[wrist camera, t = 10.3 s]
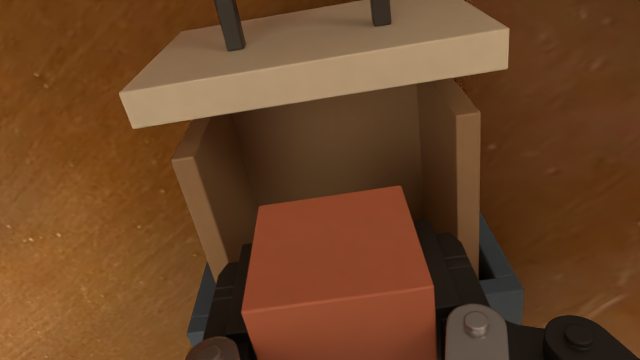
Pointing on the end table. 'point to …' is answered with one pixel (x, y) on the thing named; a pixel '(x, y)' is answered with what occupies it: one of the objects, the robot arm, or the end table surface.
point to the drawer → (324, 112)
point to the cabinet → (493, 279)
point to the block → (340, 281)
